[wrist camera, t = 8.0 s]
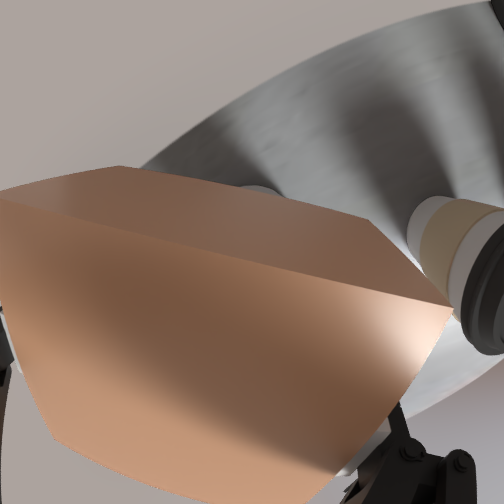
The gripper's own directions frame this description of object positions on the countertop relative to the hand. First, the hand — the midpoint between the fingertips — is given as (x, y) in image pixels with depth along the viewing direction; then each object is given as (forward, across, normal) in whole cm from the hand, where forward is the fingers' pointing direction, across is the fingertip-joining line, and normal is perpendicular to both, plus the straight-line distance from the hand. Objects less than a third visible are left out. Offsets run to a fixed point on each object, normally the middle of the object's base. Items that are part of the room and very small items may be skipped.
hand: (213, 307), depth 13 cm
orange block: (0, 0, 0) cm, 0 cm away
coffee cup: (+14, +17, +4) cm, 23 cm away
